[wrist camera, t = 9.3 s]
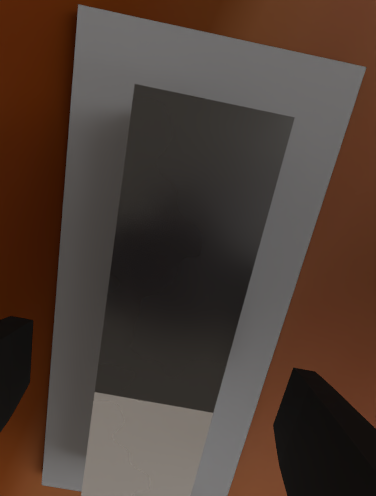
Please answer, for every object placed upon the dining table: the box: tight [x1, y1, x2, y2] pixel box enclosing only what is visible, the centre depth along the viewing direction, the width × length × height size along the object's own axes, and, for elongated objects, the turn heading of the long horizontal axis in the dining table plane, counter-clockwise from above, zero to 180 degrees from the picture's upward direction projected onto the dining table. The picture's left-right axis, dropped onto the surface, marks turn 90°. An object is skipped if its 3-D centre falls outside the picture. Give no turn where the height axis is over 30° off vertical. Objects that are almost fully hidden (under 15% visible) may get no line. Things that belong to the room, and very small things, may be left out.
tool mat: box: [42, 4, 366, 496], centre depth 12 cm, size 8×18×1 cm, turn 169°
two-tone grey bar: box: [81, 84, 295, 496], centre depth 10 cm, size 3×14×4 cm, turn 169°
